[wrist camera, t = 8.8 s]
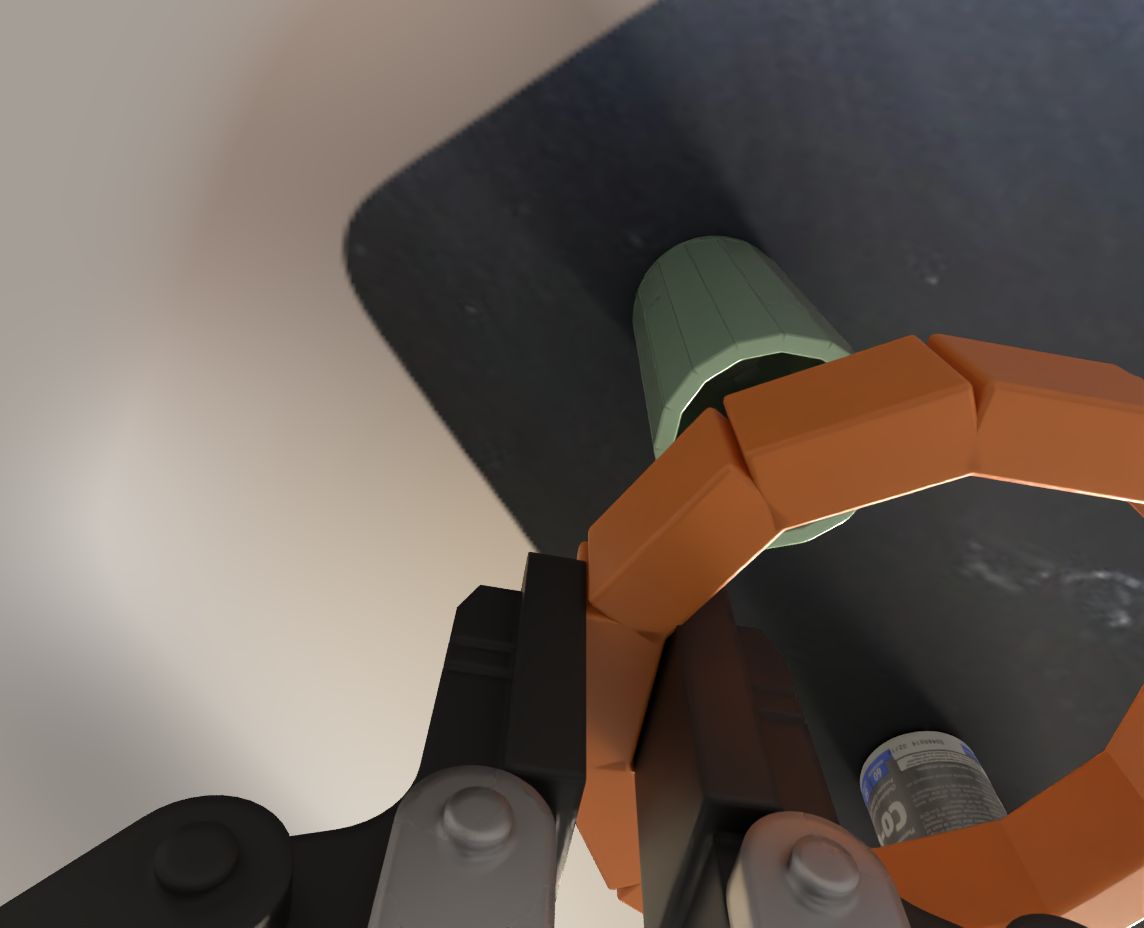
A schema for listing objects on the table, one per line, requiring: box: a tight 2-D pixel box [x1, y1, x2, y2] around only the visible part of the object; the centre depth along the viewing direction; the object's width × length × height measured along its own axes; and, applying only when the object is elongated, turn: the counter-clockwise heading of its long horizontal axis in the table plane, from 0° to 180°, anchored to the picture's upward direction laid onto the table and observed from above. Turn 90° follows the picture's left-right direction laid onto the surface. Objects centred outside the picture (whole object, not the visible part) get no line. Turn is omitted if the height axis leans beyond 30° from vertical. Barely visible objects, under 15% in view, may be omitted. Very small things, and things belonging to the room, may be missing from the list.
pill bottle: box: [860, 731, 1008, 847], centre depth 31 cm, size 5×5×8 cm
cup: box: [632, 236, 857, 549], centre depth 22 cm, size 5×5×10 cm
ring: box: [575, 334, 1144, 928], centre depth 11 cm, size 9×9×2 cm
